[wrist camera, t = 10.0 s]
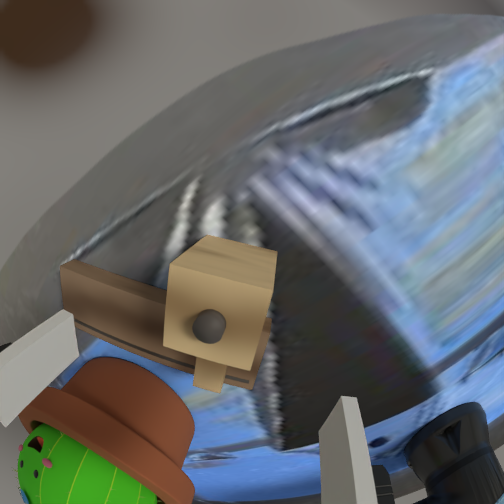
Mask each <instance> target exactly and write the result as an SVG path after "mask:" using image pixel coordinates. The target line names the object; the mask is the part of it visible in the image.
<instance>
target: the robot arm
mask: <svg viewBox="0 0 504 504" xmlns="http://www.w3.org/2000/svg"><path fill="white" fill-rule="evenodd" d="M77 357H79V352H78V346H77V340H76V333H75V325H74V317H73V314H71V313H70V312H68V311H66V310H64V309H63V310H61V311H60V312H58V313H57V314H55V315H54V316H52V317H51V318H49V319H48V320H46V321H45V322H43V323H42V324H40V325H39V326H37V327H36V328H34V329H33V330H31V331H30V332H28V333H27V334H26V335H24V336H23V337H21V338H20V339H18V340H17V341H16V342H14V343H13V344H12V343H11V342H10V343H7V344H4V345H2V346H0V422H1V423H2V424H3V425H4V426H5V427H7V426H8V425H9V423H10V422H11V421H12V420H13V419H14V418H15V417H16V416H17V415H18V414H19V413H20V412H21V411H22V410H23V409H24V408H25V407H26V406H27V405H28V404H29V403H30V402H31V401H32V400H33V399H34V398H35V397H36V396H37V395H38V394H39V393H41V392H42V391H43V390H44V389H45V388H46V387H47V386H48V385H49V384H50V383H51V382H52V381H53V380H54V379H55V378H56V377H57V376H58V375H59V374H60V373H61V372H62V371H64V370H65V369H66V368H67V367H68V366H69V365H70V364H71V363H72V362H73V361H74V360H75V359H76V358H77ZM319 446H320V469H321V504H395V501H394V496H393V495H392V493H393V491H392V487H391V481H390V477H389V473H388V472H387V471H386V469H385V468H384V466H383V465H371V461H370V456H369V451H368V446H367V441H366V437H365V432H364V428H363V423H362V419H361V414H360V410H359V406H358V402H357V398H355V397H346V396H341V397H340V399H339V401H338V402H337V404H336V405H335V407H334V409H333V410H332V412H331V414H330V415H329V417H328V418H327V420H326V421H325V423H324V424H323V426H322V427H321V429H320V430H319ZM404 456H405V459H406V463H407V465H408V466H409V467H410V468H411V469H413V471H414V472H415V474H416V475H417V476H418V478H419V479H420V480H421V481H422V482H423V484H424V485H425V488H426V492H427V496H428V497H427V498H425V499H423V500H421V501H418V502H416V503H413V504H504V472H503V470H502V468H501V465H500V463H499V461H498V459H497V457H496V455H495V453H494V451H493V449H492V447H491V445H490V442H489V433H488V425H487V420H486V413H485V411H484V410H483V408H482V406H481V405H480V404H479V403H477V402H470V403H466V404H463V405H460V406H458V407H456V408H453V409H452V410H450V411H448V412H446V413H444V414H443V415H441V416H439V417H438V418H436V419H435V420H433V421H432V422H431V423H429V424H428V425H427V426H425V427H424V428H423V429H422V430H420V431H419V432H418V433H417V434H416V435H415V436H414V437H413V438H412V439H411V440H410V442H409V443H408V444H407V446H406V448H405V450H404Z"/></svg>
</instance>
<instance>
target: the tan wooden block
mask: <svg viewBox="0 0 504 504" xmlns="http://www.w3.org/2000/svg"><path fill="white" fill-rule="evenodd" d="M276 259H277V251H273V250H269V249H265V248H260V247H256V246H252V245H248V244H244V243H240V242H236V241H231V240H227V239H223V238H219V237H215V236H211V235H206V236H205V237H204V238H202V239H201V240H200V241H198V242H197V243H196V244H194V245H193V246H192V247H191V248H189V249H188V250H187V251H185V252H184V253H183V254H182V255H180V256H179V257H178V258H176V259H175V260H174V261H173V262H171V263H170V267H169V276H168V285H167V296H166V308H165V321H164V338H163V346H165V347H168V348H171V349H174V350H177V351H180V352H183V353H186V354H190V355H193V356H196V357H197V358H196V365H195V372H194V380H193V386H196V387H199V388H202V389H206V390H209V391H213V392H216V393H220V392H221V389H222V385H223V382H224V379H225V374H226V370H227V366H232V367H236V368H240V369H244V370H248V371H250V370H251V366H252V363H253V360H254V356H255V353H256V349H257V346H258V343H259V339H260V336H261V332H262V329H263V325H264V322H265V318H266V315H267V311H268V307H269V304H270V300H271V297H272V293H273V288H274V278H275V269H276Z"/></svg>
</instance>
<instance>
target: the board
mask: <svg viewBox="0 0 504 504" xmlns="http://www.w3.org/2000/svg"><path fill="white" fill-rule="evenodd" d="M60 276H61V288H62V298H63V307H64V310H66V311H68V312H70V313H71V314H73V317H74V325H75V327H77V328H79V329H81V330H83V331H85V332H87V333H89V334H91V335H93V336H95V337H97V338H99V339H102V340H104V341H106V342H108V343H110V344H113V345H115V346H117V347H120V348H122V349H124V350H127V351H129V352H132V353H134V354H137V355H139V356H142V357H144V358H147V359H150V360H152V361H155V362H158V363H161V364H163V365H166V366H169V367H172V368H175V369H178V370H181V371H184V372H187V373H190V374H194V372H195V365H196V358H197V357H196V356H193V355H190V354H186V353H183V352H180V351H177V350H174V349H171V348H168V347H165V346H163V338H164V321H165V308H166V296H167V290H163V289H160V288H157V287H154V286H151V285H147V284H144V283H141V282H138V281H135V280H132V279H129V278H126V277H123V276H120V275H117V274H114V273H111V272H108V271H106V270H103V269H100V268H97V267H94V266H92V265H89V264H86V263H83V262H81V261H78V260H75V259H73V260H71V261H69V262H67V263H65V264H63V265H61V266H60ZM271 320H272V319H271V318H267V317H266V318H265V322H264V325H263V329H262V332H261V336H260V339H259V343H258V346H257V349H256V353H255V356H254V360H253V363H252V366H251V370H250V371H248V370H244V369H240V368H236V367H232V366H227V370H226V374H225V379H224V382H223V383H225V384H229V385H233V386H237V387H241V388H246V389H250V390H252V388H253V385H254V382H255V379H256V376H257V373H258V370H259V367H260V364H261V361H262V357H263V354H264V351H265V348H266V345H267V342H268V338H269V335H270V329H271Z"/></svg>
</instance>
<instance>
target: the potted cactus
mask: <svg viewBox="0 0 504 504" xmlns="http://www.w3.org/2000/svg"><path fill="white" fill-rule="evenodd" d="M18 416H19V418H20V420H21V422H22V424H23V426H24V427H25V429H26V430H27V431H28V433H29V434H30V435H29V436H28V437H27V439H26V440H25V442H24V444H23V445H20V446H19V450H20V455H19V459H18V470H17V471H16V470H15V471H16V472H18V478H19V484H20V487H19V488H21V493H20V494H22V496H23V497H22V498H23V501H24V503H26V504H191V503H192V500H193V497H194V493H195V488H194V485H193V483H192V481H191V480H190V479H189V477H188V476H187V475H186V474H185V473H184V472H183V471H182V470H181V468H182V465H183V463H184V460H185V457H186V455H187V452H188V449H189V446H190V444H191V441H192V438H193V435H194V431H195V425H194V421H193V417H192V415H191V413H190V411H189V409H188V408H187V406H186V405H185V403H184V402H183V401H182V399H181V398H180V397H179V396H178V395H177V394H176V393H175V392H174V391H173V390H172V389H171V388H170V387H169V386H168V385H167V384H166V383H165V382H164V381H162V380H161V379H160V378H158V377H157V376H156V375H154V374H153V373H151V372H150V371H148V370H146V369H145V368H143V367H141V366H139V365H137V364H134V363H132V362H129V361H126V360H122V359H118V358H112V357H100V358H95V359H92V360H90V361H88V362H87V363H86V364H85V365H84V366H83V367H82V368H81V369H80V370H79V371H78V372H77V373H76V374H75V375H74V376H73V377H72V378H71V379H70V380H69V381H68V382H67V384H66V385H65V386H64V387H63V388H62V389H61V390H59V389H56V388H52V387H46V388H45V389H44V390H43V391H42V392H41V393H39V394H38V395H37V396H36V397H35V398H34V399H33V400H32V401H31V402H30V403H29V404H28V405H27V406H26V407H25V408H24V409H23V410H22V411H21V412H20V413H19V414H18ZM19 488H18V489H19Z"/></svg>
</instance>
